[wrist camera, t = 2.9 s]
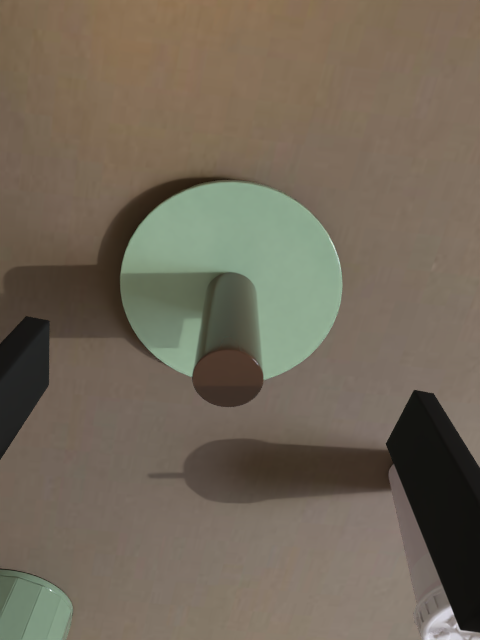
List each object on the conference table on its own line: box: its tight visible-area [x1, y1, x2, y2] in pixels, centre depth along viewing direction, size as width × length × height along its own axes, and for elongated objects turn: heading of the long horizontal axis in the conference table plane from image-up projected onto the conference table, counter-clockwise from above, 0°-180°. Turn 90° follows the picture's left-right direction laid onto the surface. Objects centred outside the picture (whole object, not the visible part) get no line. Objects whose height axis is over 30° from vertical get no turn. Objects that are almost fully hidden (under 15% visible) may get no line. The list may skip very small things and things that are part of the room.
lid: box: [120, 180, 342, 407], centre depth 19 cm, size 11×11×8 cm
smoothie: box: [388, 464, 480, 640], centre depth 23 cm, size 6×6×14 cm
